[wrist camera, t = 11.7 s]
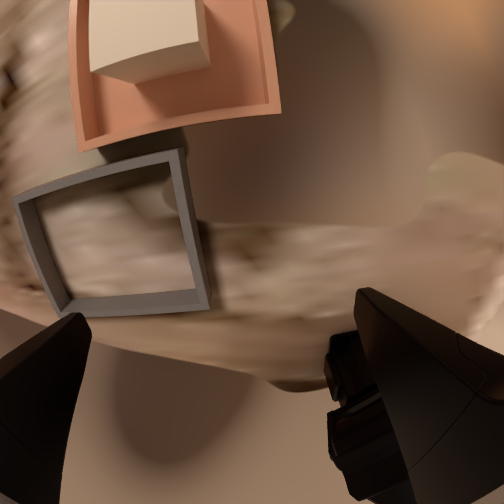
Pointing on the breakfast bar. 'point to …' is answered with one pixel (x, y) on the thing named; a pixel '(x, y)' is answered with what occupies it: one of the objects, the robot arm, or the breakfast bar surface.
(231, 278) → the breakfast bar surface
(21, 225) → the gray rectangular frame
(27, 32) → the breakfast bar surface
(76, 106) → the terracotta tray
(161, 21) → the stone block
